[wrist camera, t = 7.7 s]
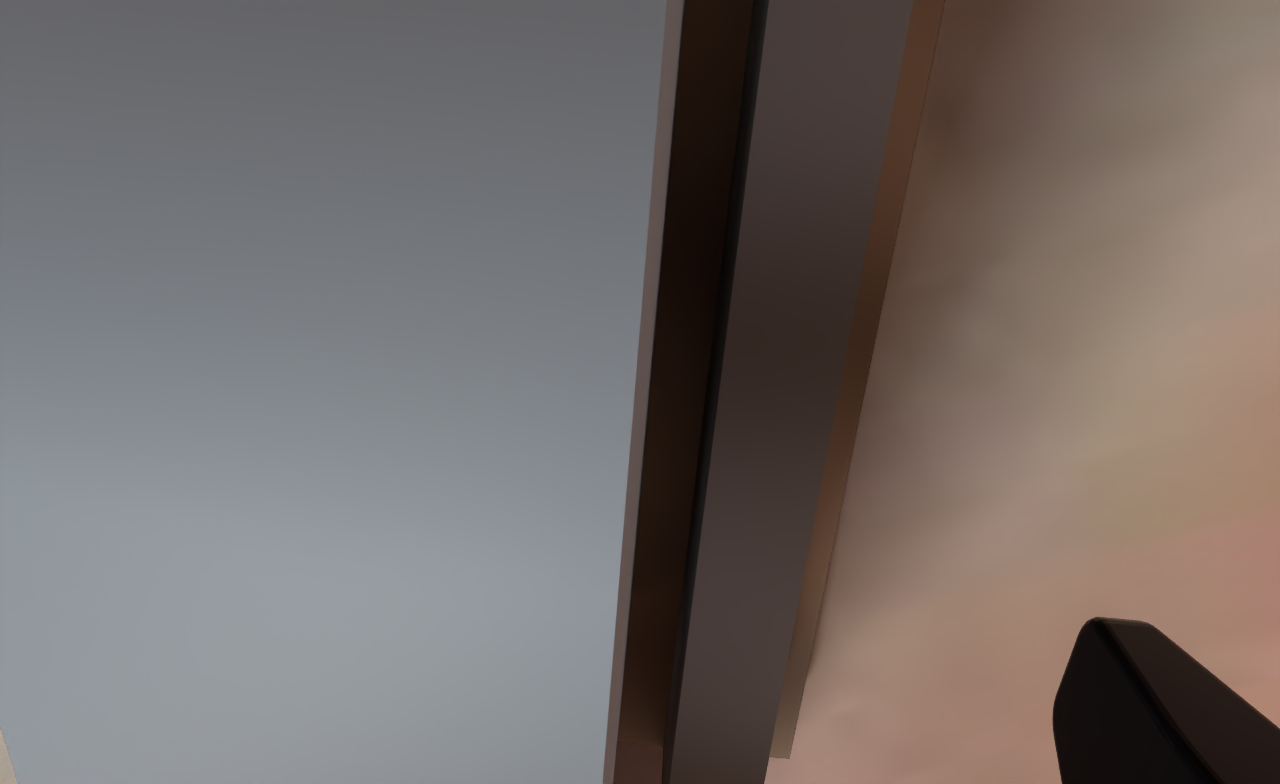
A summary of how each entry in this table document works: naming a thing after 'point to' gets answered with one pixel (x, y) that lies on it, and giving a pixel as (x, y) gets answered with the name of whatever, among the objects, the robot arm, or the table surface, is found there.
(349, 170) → the door panel
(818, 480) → the track base
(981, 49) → the table surface
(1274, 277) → the table surface
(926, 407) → the table surface
